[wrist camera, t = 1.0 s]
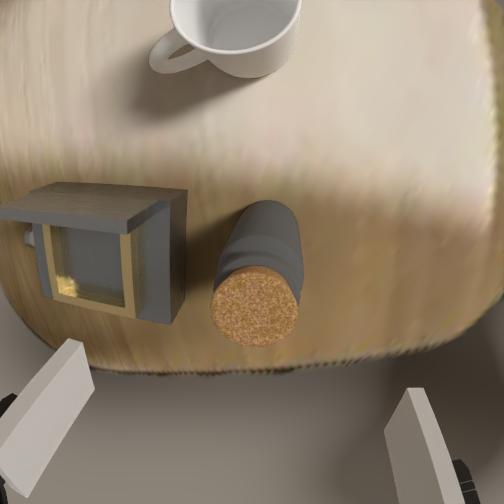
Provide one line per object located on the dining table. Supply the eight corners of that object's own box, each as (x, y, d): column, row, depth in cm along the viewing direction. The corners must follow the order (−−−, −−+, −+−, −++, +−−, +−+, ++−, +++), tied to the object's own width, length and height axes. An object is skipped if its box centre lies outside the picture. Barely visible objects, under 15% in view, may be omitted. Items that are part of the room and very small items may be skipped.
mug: (192, 113, 28) (149, 107, 18) (157, 44, 25) (105, 14, 16) (312, 58, 25) (325, 24, 15) (271, -11, 22) (264, -66, 13)
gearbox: (39, 181, 31) (-28, 205, 21) (187, 189, 30) (140, 221, 20) (49, 273, 36) (-5, 315, 26) (184, 299, 35) (149, 364, 25)
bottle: (293, 194, 30) (300, 254, 16) (302, 253, 32) (313, 349, 18) (231, 205, 31) (186, 271, 17) (244, 262, 32) (214, 359, 19)
